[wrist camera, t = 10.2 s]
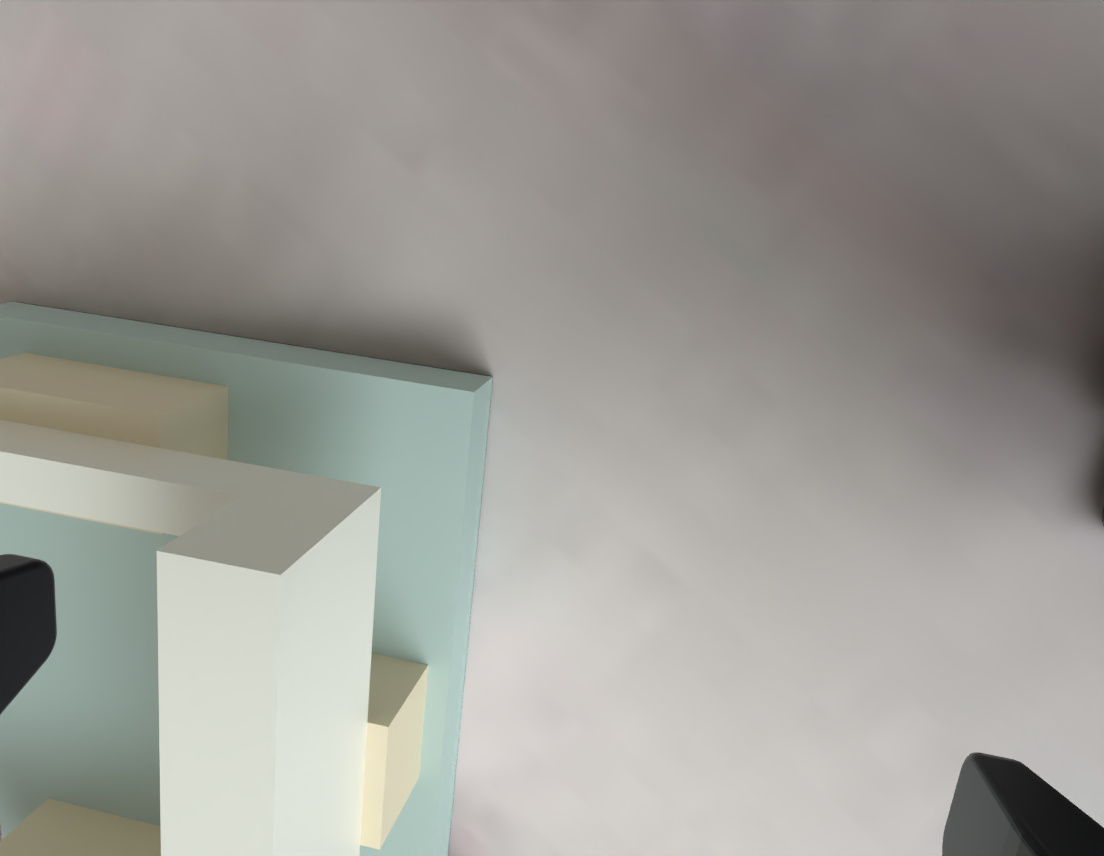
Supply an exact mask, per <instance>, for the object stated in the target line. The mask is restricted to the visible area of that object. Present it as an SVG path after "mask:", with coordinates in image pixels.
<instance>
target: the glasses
mask: <svg viewBox="0 0 1104 856" xmlns="http://www.w3.org/2000/svg"><path fill="white" fill-rule="evenodd" d="M380 501H381V487H376V486H371V485H365V484H360V483H354V482H348V481H343V480H337V479H331V478H326V477H320V476H315V475H309V474H303V473H298V472H292V471H286V470H281V469H275V468H270V467H264V466H258V465H253V464H247V463H241V462H236V461H230V460H224V459H219V458H213V457H208V456H202V455H196V454H191V453H185V452H179V451H174V450H168V449H163V448H157V447H151V446H146V445H140V444H134V443H129V442H123V441H117V440H112V439H106V438H101V437H95V436H89V435H84V434H78V433H72V432H67V431H61V430H56V429H50V428H44V427H39V426H33V425H27V424H22V423H16V422H10V421H5V420H0V502H5V503H11V504H16V505H21V506H26V507H31V508H37V509H42V510H47V511H52V512H57V513H62V514H68V515H73V516H78V517H83V518H88V519H93V520H99V521H104V522H109V523H114V524H119V525H124V526H130V527H135V528H140V529H145V530H150V531H155V532H161V533H166V534H171V535H176V536H179V537H177V538H175V539H174V540H172V541H171V542H169V543H168V544H166V545H165V546H163V547H162V548H160V549H158V550H157V611H158V682H159V753H160V824H161V856H359V855H360V838H361V821H362V804H363V787H364V770H365V753H366V737H367V720H368V703H369V686H370V669H371V652H372V636H373V619H374V602H375V585H376V568H377V551H378V534H379V518H380Z"/></svg>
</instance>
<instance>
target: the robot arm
mask: <svg viewBox="0 0 1104 856" xmlns="http://www.w3.org/2000/svg"><path fill="white" fill-rule="evenodd" d="M1102 522H1103V525H1104V509H1103V514H1102ZM56 637H57V621H56V599H55V578H54V573H53V570H52V568H51V567H50V565H49V564H48V563H46V562H45V561H43V560H40V559H35V558H30V557H25V556H20V555H15V554H4V555H0V715H1V714H2V712H3V711H4V710H5V709H6V708H7V706H8V705H9V704H10V703H11V702H12V701H13V699H14V698H15V697H16V696H17V695H18V693H19V692H20V691H21V690H22V689H23V688H24V686H25V685H26V684H27V683H28V682H29V680H30V679H31V678H32V677H33V676H34V675H35V673H36V672H37V671H38V670H39V669H40V667H41V666H42V665H43V664H44V663H45V662H46V660H47V659H48V658H49V656H50V654H51V652H52V650H53V648H54V645H55V642H56ZM942 856H1104V828H1103V827H1102V826H1101V825H1099V824H1098V823H1097V822H1096V821H1094V820H1093V819H1092V818H1091V817H1089V816H1088V815H1087V814H1086V813H1084V812H1083V811H1082V810H1081V809H1079V808H1078V807H1077V806H1075V805H1074V804H1073V803H1072V802H1070V801H1069V800H1068V799H1067V798H1065V797H1064V796H1063V795H1062V794H1060V793H1059V792H1058V791H1057V790H1055V789H1054V788H1053V787H1052V786H1050V785H1049V784H1048V783H1047V782H1045V781H1044V780H1043V779H1042V778H1040V777H1039V776H1038V775H1036V774H1035V773H1034V772H1033V771H1031V770H1030V769H1029V768H1028V767H1026V766H1025V765H1024V764H1022V763H1021V762H1019V761H1016V760H1013V759H1009V758H1004V757H999V756H994V755H989V754H984V753H972V754H970V755H969V756H968V757H967V758H966V759H965V761H964V763H963V765H962V768H961V771H960V775H959V779H958V782H957V786H956V789H955V793H954V797H953V800H952V804H951V807H950V811H949V815H948V818H947V822H946V825H945V830H944V835H943V846H942Z"/></svg>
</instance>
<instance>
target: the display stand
mask: <svg viewBox="0 0 1104 856" xmlns="http://www.w3.org/2000/svg"><path fill="white" fill-rule="evenodd" d="M492 381H493V377H490V376H484V375H477V374H471V373H465V372H458V371H452V370H446V369H439V368H433V367H426V366H420V365H414V364H407V363H401V362H395V361H388V360H382V359H375V358H369V357H363V356H356V355H350V354H344V353H337V352H331V351H324V350H318V349H312V348H305V347H299V346H293V345H286V344H280V343H273V342H267V341H261V340H254V339H248V338H242V337H235V336H229V335H222V334H216V333H210V332H203V331H197V330H191V329H184V328H178V327H171V326H165V325H159V324H152V323H146V322H140V321H133V320H127V319H120V318H114V317H108V316H101V315H95V314H89V313H82V312H76V311H69V310H63V309H57V308H50V307H44V306H38V305H31V304H25V303H18V302H9V303H4V304H0V420H5V421H10V422H16V423H22V424H27V425H33V426H39V427H44V428H50V429H56V430H61V431H67V432H72V433H78V434H84V435H89V436H95V437H101V438H106V439H112V440H117V441H123V442H129V443H134V444H140V445H146V446H151V447H157V448H163V449H168V450H174V451H179V452H185V453H191V454H196V455H202V456H208V457H213V458H219V459H224V460H230V461H236V462H241V463H247V464H253V465H258V466H264V467H270V468H275V469H281V470H286V471H292V472H298V473H303V474H309V475H315V476H320V477H326V478H331V479H337V480H343V481H348V482H354V483H360V484H365V485H371V486H376V487H381V501H380V518H379V534H378V551H377V568H376V585H375V602H374V619H373V636H372V652H371V669H370V686H369V703H368V720H367V737H366V753H365V770H364V787H363V804H362V821H361V838H360V855H359V856H448V847H449V836H450V825H451V815H452V804H453V794H454V783H455V773H456V762H457V751H458V741H459V730H460V720H461V709H462V699H463V688H464V677H465V667H466V656H467V646H468V635H469V624H470V614H471V603H472V593H473V582H474V572H475V561H476V550H477V540H478V529H479V519H480V508H481V498H482V487H483V476H484V466H485V455H486V445H487V434H488V424H489V413H490V402H491V392H492ZM177 537H179V536H176V535H171V534H166V533H161V532H155V531H150V530H145V529H140V528H135V527H130V526H124V525H119V524H114V523H109V522H104V521H99V520H93V519H88V518H83V517H78V516H73V515H68V514H62V513H57V512H52V511H47V510H42V509H37V508H31V507H26V506H21V505H16V504H11V503H5V502H0V555H4V554H15V555H20V556H25V557H30V558H35V559H40V560H43V561H45V562H46V563H48V564H49V565H50V567H51V568H52V570H53V573H54V578H55V599H56V621H57V637H56V642H55V645H54V648H53V650H52V652H51V654H50V656H49V658H48V659H47V660H46V662H45V663H44V664H43V665H42V666H41V667H40V669H39V670H38V671H37V672H36V673H35V675H34V676H33V677H32V678H31V679H30V680H29V682H28V683H27V684H26V685H25V686H24V688H23V689H22V690H21V691H20V692H19V693H18V695H17V696H16V697H15V698H14V699H13V701H12V702H11V703H10V704H9V705H8V706H7V708H6V709H5V710H4V711H3V712H2V714H1V715H0V823H1V838H2V840H1V841H0V856H161V824H160V753H159V682H158V611H157V550H158V549H160V548H162V547H163V546H165V545H166V544H168V543H169V542H171V541H172V540H174V539H175V538H177Z"/></svg>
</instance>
